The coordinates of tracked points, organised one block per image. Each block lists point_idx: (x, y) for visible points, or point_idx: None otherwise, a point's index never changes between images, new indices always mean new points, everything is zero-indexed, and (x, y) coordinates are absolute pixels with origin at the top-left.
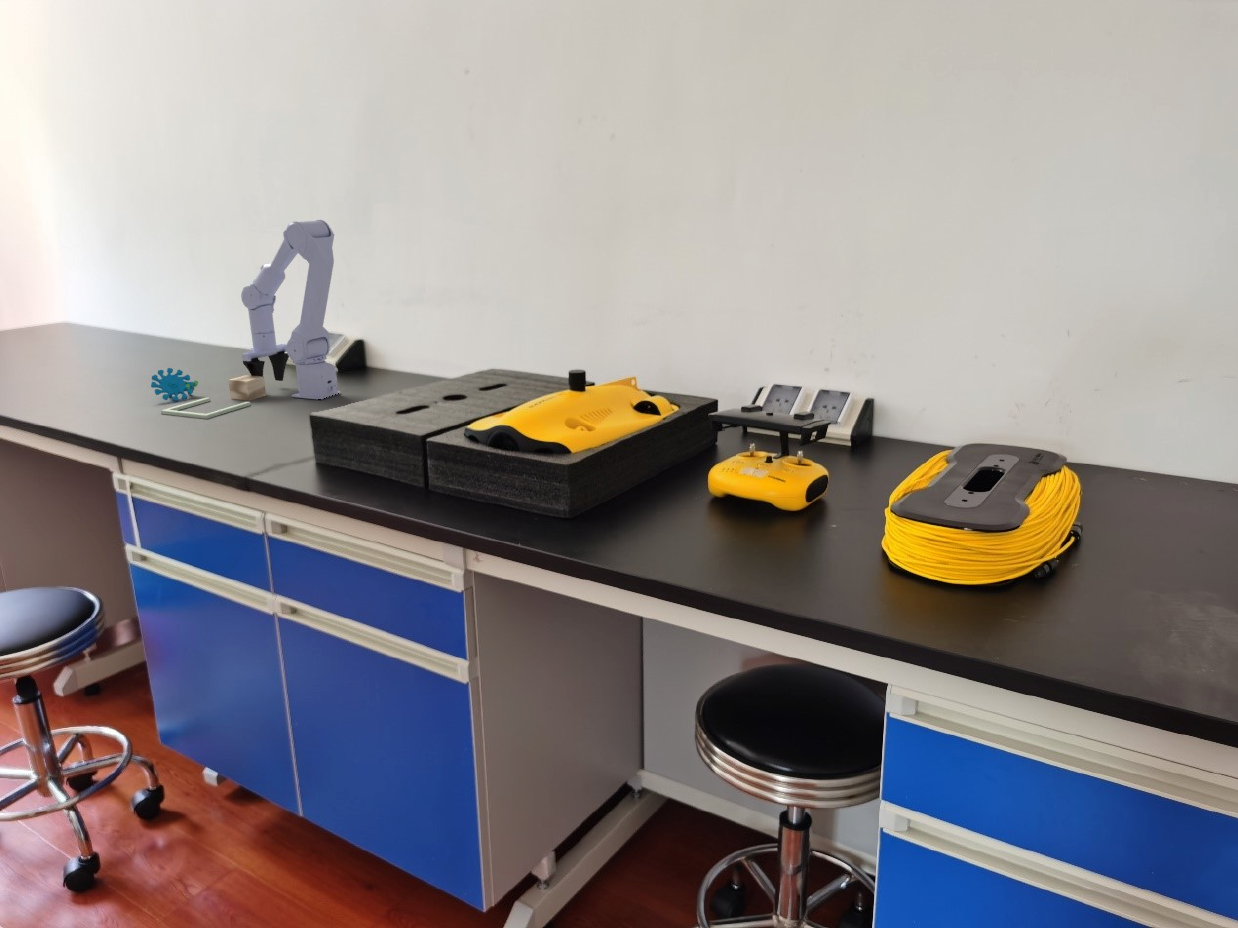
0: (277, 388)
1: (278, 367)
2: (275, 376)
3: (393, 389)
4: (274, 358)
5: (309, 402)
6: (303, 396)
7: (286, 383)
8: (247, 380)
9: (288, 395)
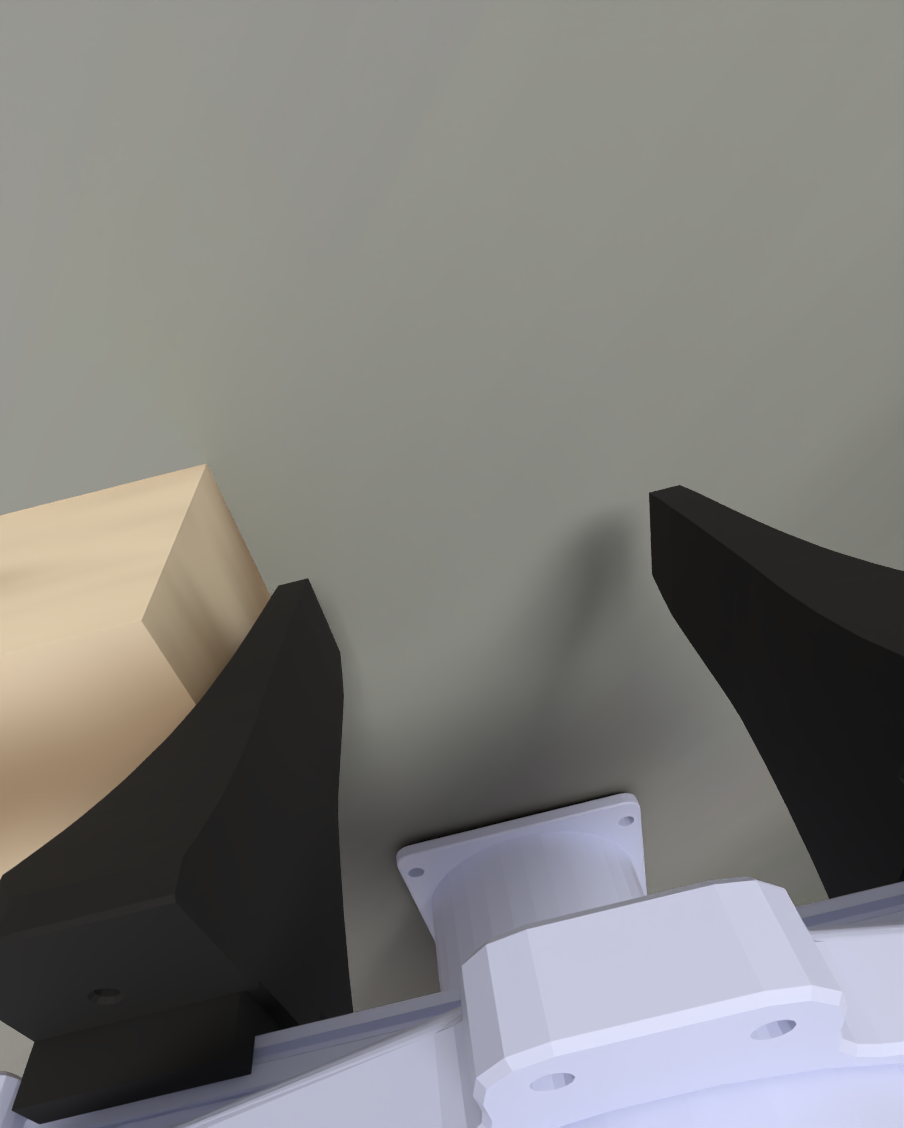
0: (583, 498)
1: (748, 671)
2: (670, 529)
3: None
4: (850, 756)
5: (384, 965)
6: (425, 919)
7: (849, 344)
8: None
9: (430, 783)
